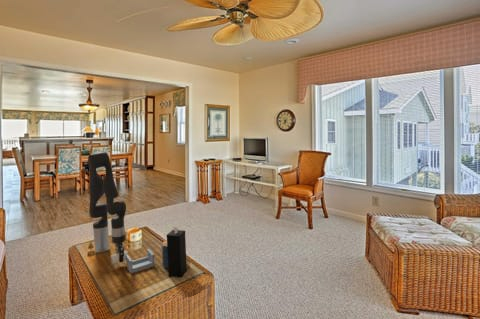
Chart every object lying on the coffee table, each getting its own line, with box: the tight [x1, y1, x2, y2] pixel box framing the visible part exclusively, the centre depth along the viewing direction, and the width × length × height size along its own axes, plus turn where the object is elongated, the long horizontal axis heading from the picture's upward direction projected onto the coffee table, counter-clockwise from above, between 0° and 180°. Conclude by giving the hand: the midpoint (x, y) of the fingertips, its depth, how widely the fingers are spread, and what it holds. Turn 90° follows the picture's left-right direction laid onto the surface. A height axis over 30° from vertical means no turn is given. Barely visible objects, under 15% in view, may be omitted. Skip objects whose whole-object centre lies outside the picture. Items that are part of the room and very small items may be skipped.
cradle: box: [125, 248, 155, 274], centre depth 160 cm, size 10×14×8 cm
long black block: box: [166, 226, 188, 278], centre depth 150 cm, size 8×8×28 cm
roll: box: [110, 250, 129, 265], centre depth 161 cm, size 9×6×6 cm
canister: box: [161, 239, 168, 270], centre depth 161 cm, size 13×13×18 cm
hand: (120, 259), depth 161 cm, fingers closed on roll, 5 cm apart
